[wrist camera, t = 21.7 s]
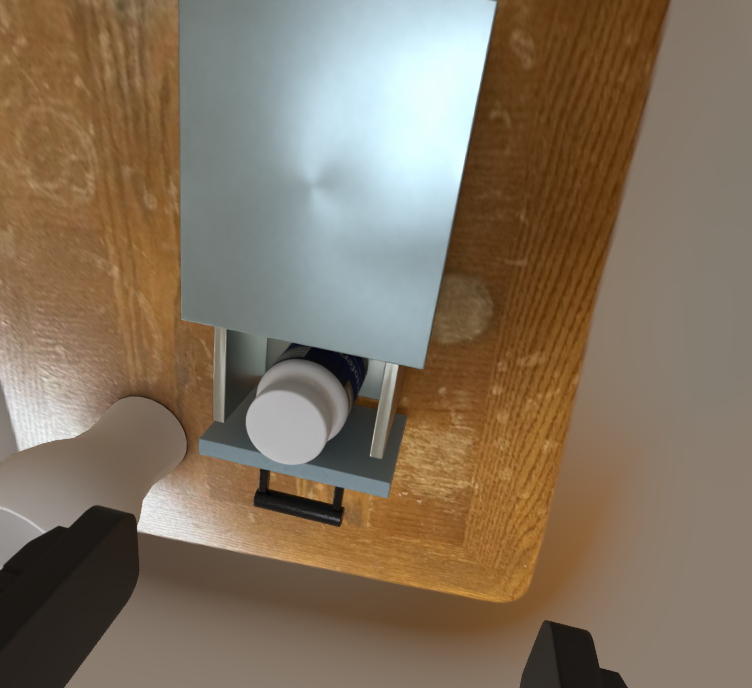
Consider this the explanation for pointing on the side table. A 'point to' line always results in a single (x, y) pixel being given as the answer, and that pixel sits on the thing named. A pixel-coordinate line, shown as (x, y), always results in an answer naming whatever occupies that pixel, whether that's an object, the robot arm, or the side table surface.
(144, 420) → the cup
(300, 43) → the drawer cabinet
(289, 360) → the pill bottle
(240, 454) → the drawer
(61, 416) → the side table surface
